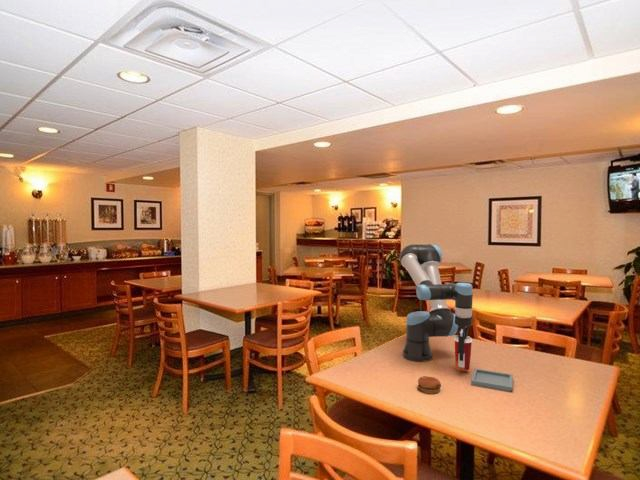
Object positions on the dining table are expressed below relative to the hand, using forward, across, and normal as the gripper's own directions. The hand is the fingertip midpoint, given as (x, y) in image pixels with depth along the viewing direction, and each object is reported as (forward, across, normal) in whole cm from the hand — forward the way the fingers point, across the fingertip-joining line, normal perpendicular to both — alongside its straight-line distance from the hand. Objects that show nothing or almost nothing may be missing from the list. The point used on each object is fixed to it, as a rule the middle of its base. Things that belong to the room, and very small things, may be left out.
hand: (462, 364), depth 180 cm
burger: (+4, +27, -10) cm, 29 cm away
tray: (+3, +6, +13) cm, 15 cm away
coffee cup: (+2, 0, 0) cm, 2 cm away
